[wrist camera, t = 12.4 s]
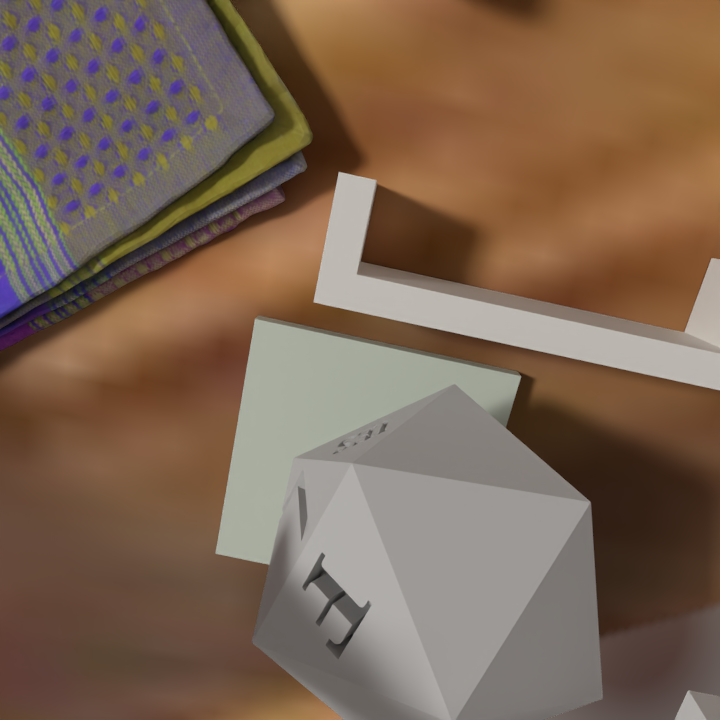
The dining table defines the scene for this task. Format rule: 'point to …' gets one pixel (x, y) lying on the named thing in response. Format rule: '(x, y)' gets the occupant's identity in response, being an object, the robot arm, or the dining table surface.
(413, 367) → the mat
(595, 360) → the pocket
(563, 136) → the dining table surface
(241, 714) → the dining table surface
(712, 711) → the robot arm
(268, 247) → the dining table surface
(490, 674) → the die
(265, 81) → the dish towel
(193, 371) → the dining table surface
